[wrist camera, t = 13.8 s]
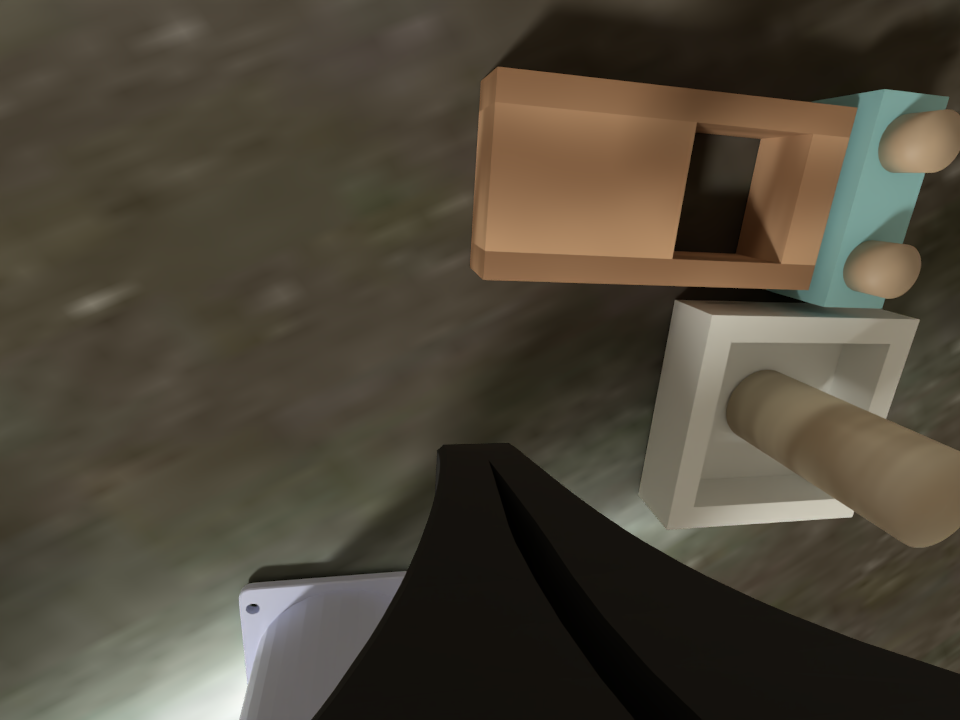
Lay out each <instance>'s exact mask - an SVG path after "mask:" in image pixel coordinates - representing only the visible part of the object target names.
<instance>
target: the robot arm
mask: <svg viewBox="0 0 960 720" xmlns="http://www.w3.org/2000/svg"><path fill="white" fill-rule="evenodd" d="M249 604H257V605H258V606H256V607H253V606H250V605H249ZM239 606H240V616H241V626H242V636H243V646H244V655H245V665H246V675H247V685H248V686H247V691H246V695H245V699H244V703H243V707H242V711H241V715H240V719H239V720H960V674H958V673H955V672H952V671H949V670H946V669H943V668H940V667H937V666H934V665H931V664H928V663H925V662H922V661H919V660H916V659H913V658H910V657H907V656H903V655H900V654H897V653H894V652H891V651H888V650H885V649H882V648H879V647H876V646H873V645H870V644H867V643H864V642H861V641H859V640H856V639H853V638H850V637H848V636H845V635H842V634H840V633H837V632H835V631H832V630H830V629H827V628H825V627H822V626H819V625H817V624H814V623H812V622H809V621H807V620H804V619H801V618H799V617H796V616H794V615H791V614H789V613H787V612H784V611H782V610H780V609H777V608H775V607H773V606H770V605H768V604H765V603H763V602H761V601H758V600H756V599H754V598H752V597H750V596H748V595H745V594H743V593H741V592H739V591H737V590H735V589H733V588H731V587H729V586H726V585H724V584H722V583H720V582H718V581H716V580H714V579H712V578H710V577H707V576H705V575H704V574H702V573H700V572H698V571H696V570H694V569H692V568H690V567H688V566H686V565H684V564H682V563H681V562H679V561H677V560H675V559H674V558H672V557H670V556H668V555H666V554H665V553H663V552H661V551H659V550H658V549H656V548H654V547H652V546H651V545H649V544H647V543H645V542H644V541H642V540H640V539H639V538H637V537H636V536H634V535H632V534H631V533H629V532H628V531H626V530H624V529H623V528H621V527H620V526H619V525H617V524H616V523H614V522H613V521H611V520H610V519H608V518H607V517H605V516H604V515H602V514H601V513H599V512H598V511H596V510H595V509H594V508H592V507H591V506H589V505H588V504H587V503H585V502H584V501H582V500H581V499H580V498H578V497H577V496H576V495H574V494H573V493H572V492H570V491H569V490H568V489H567V488H565V487H564V486H563V485H561V484H560V483H559V482H558V481H556V480H555V479H554V478H552V477H551V476H550V475H549V474H547V473H546V472H545V471H544V470H543V469H541V468H540V467H539V466H538V465H536V464H535V463H534V462H533V461H531V460H530V459H529V458H528V457H526V456H525V455H524V454H523V453H521V452H520V451H519V450H518V449H516V448H515V447H514V446H512V445H511V444H509V443H490V444H454V445H443V446H442V447H441V448H440V449H438V450H437V464H436V485H435V497H434V502H433V506H432V509H431V512H430V515H429V518H428V521H427V524H426V527H425V529H424V532H423V535H422V538H421V541H420V543H419V546H418V548H417V550H416V553H415V555H414V557H413V559H412V562H411V564H410V566H409V568H408V570H407V571H399V572H386V573H373V574H360V575H347V576H334V577H321V578H308V579H295V580H282V581H269V582H256V583H249V584H247V585H245V586H244V587H243V588H242V589H241V592H240V595H239Z"/></svg>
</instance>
